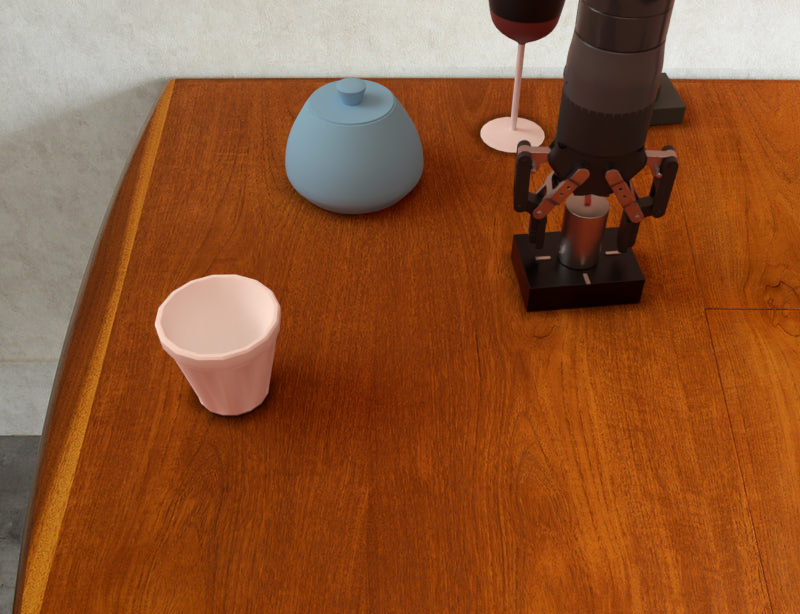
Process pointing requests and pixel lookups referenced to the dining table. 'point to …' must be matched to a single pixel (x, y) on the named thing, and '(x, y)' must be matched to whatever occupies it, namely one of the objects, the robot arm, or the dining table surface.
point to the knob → (582, 231)
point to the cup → (222, 339)
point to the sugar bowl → (353, 148)
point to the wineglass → (520, 64)
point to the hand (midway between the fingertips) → (579, 245)
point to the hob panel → (575, 275)
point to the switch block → (667, 104)
